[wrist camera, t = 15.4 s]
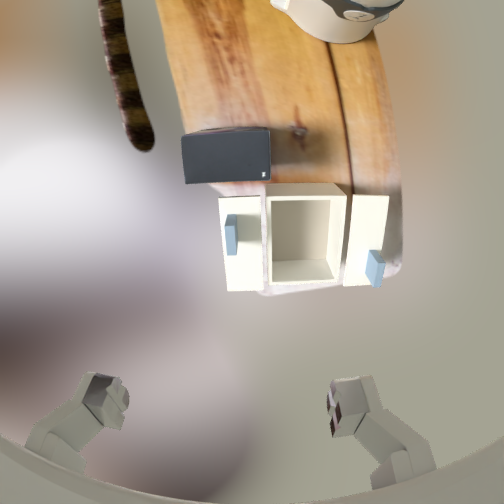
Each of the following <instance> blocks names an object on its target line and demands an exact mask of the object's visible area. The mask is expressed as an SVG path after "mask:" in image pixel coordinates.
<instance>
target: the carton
mask: <svg viewBox="0 0 504 504" xmlns="http://www.w3.org/2000/svg"><path fill="white" fill-rule="evenodd" d="M346 200H347V196H346V194H345V193H344V192H343V191H342V190H341V189H340V188H339V187H337V186H336V185H335V184H334V183H271V184H265V209H266V247H267V273H268V285H290V284H313V283H332V282H338V278H339V270H340V262H341V254H342V245H343V235H344V225H345V213H346Z"/></svg>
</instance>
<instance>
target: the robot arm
mask: <svg viewBox="0 0 504 504" xmlns="http://www.w3.org/2000/svg"><path fill="white" fill-rule="evenodd" d="M403 1H404V0H270V3H271V5H272V6H273V7H275V8H277V9H278V10H280V11H282V12H284V13H286V14H288V15H289V16H290V17H291V18H292V19H293V21H294V22H295V23H296V24H297V25H298V26H299V27H300V28H301V29H303V30H304V31H305V32H307V33H308V34H310V35H312V36H314V37H316V38H318V39H321V40H324V41H327V42H332V43H352V42H356V41H358V40H361V39H363V38H364V37H366V36H367V35H368V34H369V33H370V32H371V30H372V29H373V28H374V26H375V25H376V24H378V23H381V22H383V21H385V20H386V19H387V18H388V17H389V12H390V11H392V10H394V9H396V8H398V6H399V5H400V4H402V2H403ZM121 383H122V381H121V379H120V378H119V377H117V376H111V375H105V374H100V373H95V372H89V371H87V372H86V373H85V374H84V375H83V377H82V379H81V381H80V383H79V385H78V387H77V389H76V392H75V394H74V396H73V398H72V400H68V401H66V402H65V403H63V404H62V405H61V406H59V407H58V408H56V409H55V410H54V411H52V412H51V413H49V414H48V415H47V416H45V417H44V418H43V419H41V420H40V421H38V422H37V423H36V424H34V426H33V428H32V430H31V433H30V435H29V437H28V439H27V442H26V444H25V447H23V446H21V445H19V444H18V443H16V442H14V441H13V440H11V439H9V438H7V437H6V436H4V435H3V434H1V433H0V504H216V503H204V502H196V501H188V500H180V499H174V498H168V497H163V496H157V495H153V494H148V493H144V492H140V491H135V490H131V489H128V488H124V487H120V486H117V485H114V484H110V483H107V482H104V481H101V480H98V479H95V478H92V477H89V476H86V475H84V474H83V473H84V469H85V466H86V459H85V458H83V457H82V456H81V455H80V454H79V453H78V452H79V451H80V450H81V449H82V448H83V447H84V446H85V445H86V444H88V442H90V441H91V440H92V439H93V438H94V437H95V436H96V435H97V434H98V433H99V432H100V430H102V429H103V428H104V427H109V428H113V429H118V430H121V427H122V424H123V421H124V414H123V412H124V411H125V410H126V409H127V408H128V405H129V393H128V391H127V389H126V388H125V387H124V386H122V385H121ZM330 388H331V390H330V391H329V392H328V395H327V410H328V414H329V415H330V416H331V417H332V419H331V422H330V428H331V433H332V437H333V438H334V437H342V436H349V435H354V437H355V438H356V439H357V440H358V441H359V442H360V443H361V444H362V446H363V447H364V448H365V449H366V450H367V451H368V452H369V453H370V454H371V455H372V456H373V457H374V458H375V459H376V460H377V461H378V462H379V463H380V464H381V465H380V466H379V467H378V468H377V469H376V470H375V471H374V472H373V473H372V474H371V475H370V479H371V484H372V491H368V492H363V493H359V494H355V495H349V496H345V497H339V498H333V499H327V500H319V501H311V502H302V503H291V504H504V436H502V437H500V438H498V439H496V440H494V441H493V442H491V443H489V444H487V445H486V446H484V447H482V448H480V449H479V450H477V451H475V452H473V453H471V454H469V455H467V456H465V457H463V458H461V459H459V460H457V461H454V462H452V463H450V464H448V465H446V466H443V467H441V468H438V469H437V468H436V465H435V461H434V458H433V455H432V452H431V449H430V446H429V443H428V441H427V440H426V439H425V438H423V437H422V436H421V435H420V434H418V433H417V432H416V431H414V430H413V429H412V428H411V427H409V426H408V425H407V424H405V423H404V422H403V421H401V420H400V419H399V418H398V417H397V416H395V415H394V414H393V413H392V412H390V411H389V410H388V409H383V406H382V403H381V400H380V397H379V394H378V391H377V388H376V385H375V383H374V379H373V377H372V376H371V375H366V376H360V377H351V378H344V379H337V380H332V381H331V384H330ZM103 426H104V427H103Z"/></svg>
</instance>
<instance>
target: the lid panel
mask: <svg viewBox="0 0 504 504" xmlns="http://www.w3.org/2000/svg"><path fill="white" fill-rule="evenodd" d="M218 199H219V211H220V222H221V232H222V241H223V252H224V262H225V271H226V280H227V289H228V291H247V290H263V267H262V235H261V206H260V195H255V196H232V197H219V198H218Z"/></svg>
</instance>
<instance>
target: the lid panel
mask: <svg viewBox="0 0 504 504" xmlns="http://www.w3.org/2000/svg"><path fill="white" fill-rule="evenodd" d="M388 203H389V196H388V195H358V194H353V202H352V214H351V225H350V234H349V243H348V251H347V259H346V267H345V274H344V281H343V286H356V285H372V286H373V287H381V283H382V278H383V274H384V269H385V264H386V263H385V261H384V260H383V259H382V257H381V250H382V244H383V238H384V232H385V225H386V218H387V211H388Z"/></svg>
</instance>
